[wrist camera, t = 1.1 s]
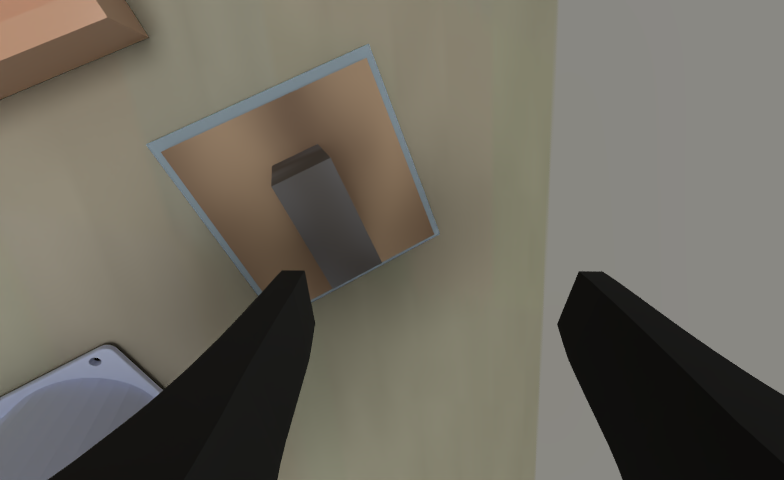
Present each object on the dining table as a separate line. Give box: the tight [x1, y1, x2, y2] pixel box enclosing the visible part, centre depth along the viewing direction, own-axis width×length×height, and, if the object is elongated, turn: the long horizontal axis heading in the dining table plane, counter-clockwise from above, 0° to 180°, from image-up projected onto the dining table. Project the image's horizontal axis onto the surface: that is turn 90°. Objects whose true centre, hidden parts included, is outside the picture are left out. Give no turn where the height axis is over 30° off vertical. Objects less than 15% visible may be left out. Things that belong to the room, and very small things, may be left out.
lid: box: [161, 58, 434, 300], centre depth 16 cm, size 10×10×5 cm
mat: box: [146, 44, 440, 303], centre depth 18 cm, size 11×11×1 cm
